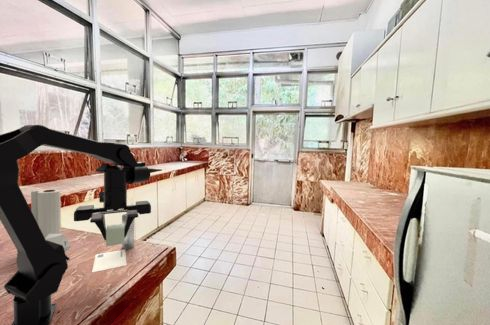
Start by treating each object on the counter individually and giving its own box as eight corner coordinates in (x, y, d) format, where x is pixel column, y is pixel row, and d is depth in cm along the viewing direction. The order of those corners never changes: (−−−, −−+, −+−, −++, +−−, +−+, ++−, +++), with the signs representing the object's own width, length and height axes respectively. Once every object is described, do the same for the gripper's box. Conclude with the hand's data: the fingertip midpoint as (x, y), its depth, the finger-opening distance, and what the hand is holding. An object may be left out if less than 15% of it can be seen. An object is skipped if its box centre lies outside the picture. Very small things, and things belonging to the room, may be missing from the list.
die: (39, 270, 65) (63, 242, 67) (20, 253, 66) (45, 226, 69) (60, 265, 73) (82, 240, 75) (43, 250, 74) (64, 226, 77)
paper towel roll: (65, 246, 79) (64, 189, 78) (45, 253, 73) (45, 192, 72) (51, 243, 81) (50, 188, 80) (31, 250, 75) (30, 190, 74)
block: (124, 243, 62) (124, 228, 62) (106, 246, 60) (106, 230, 60) (124, 237, 66) (124, 223, 66) (106, 240, 64) (106, 225, 64)
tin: (134, 248, 80) (135, 215, 79) (121, 250, 78) (122, 217, 77) (134, 244, 83) (134, 212, 83) (121, 246, 81) (121, 214, 80)
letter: (126, 265, 68) (126, 265, 68) (92, 273, 63) (91, 272, 63) (125, 249, 78) (125, 249, 78) (95, 255, 74) (95, 254, 74)
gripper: (147, 181, 74) (146, 224, 75) (80, 183, 64) (80, 233, 65) (151, 186, 64) (150, 236, 65) (73, 190, 55) (73, 249, 56)
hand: (115, 238), depth 63 cm, fingers closed on block, 4 cm apart
